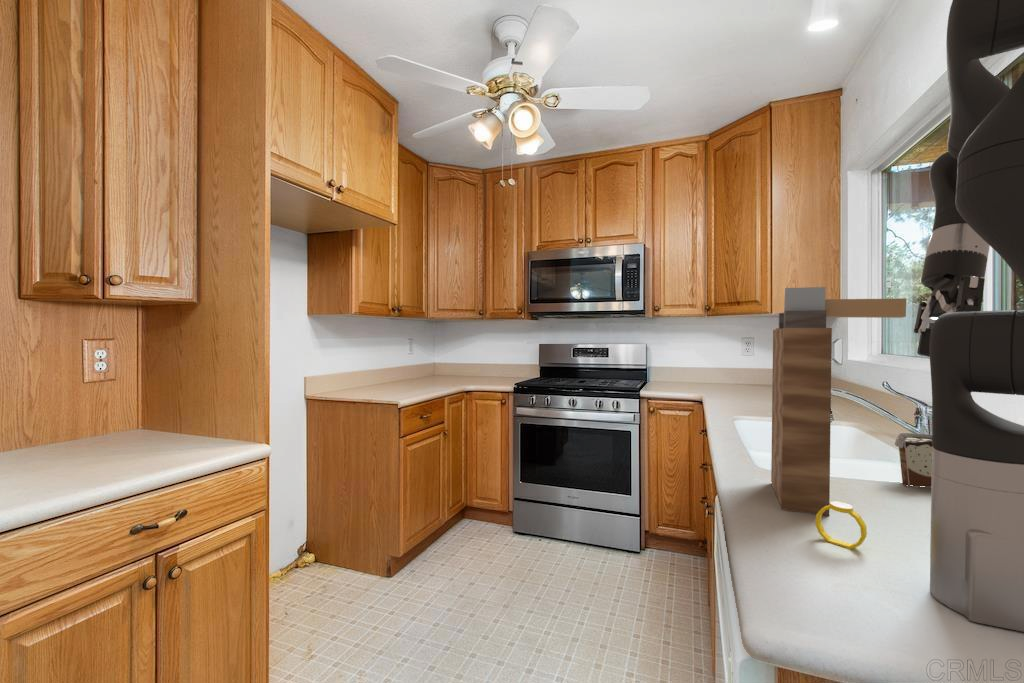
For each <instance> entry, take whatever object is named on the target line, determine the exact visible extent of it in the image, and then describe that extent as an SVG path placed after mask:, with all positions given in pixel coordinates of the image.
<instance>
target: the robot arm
mask: <svg viewBox="0 0 1024 683" xmlns="http://www.w3.org/2000/svg"><path fill="white" fill-rule="evenodd" d="M1023 48H1024V0H952V2H951V5H950V8H949V12H948V18H947V27H946V69H947V70H946V71H947V85H948V87H947V89H948V94H949V103H950V118H949V119H950V120H949V127H948V134H947V135H948V136H947V142H946V149H947V151H946V152H943V153H942V154H939V155H938V156H937V157H936V158H935V160H934V161H933V162H932V164H931V165H930V168H929V174H928V175H929V176H928V177H929V184H930V187H931V190H932V194H933V198H934V204H935V208H934V209H935V211H934V219H933V225H932V229H931V235H930V238H929V240H928V243H927V246H926V247H927V248H926V251H925V257H924V262H923V268H922V273H921V278H920V283H921V284H922V285H923V286H924V287H926V288H928V289H929V290H930V291H931V293H930V295H929V296H928V298H927V300H926V301H925V300H921V301H920V303H918V304H919V306H918V310H917V316H916V320H915V325H914V328H913V333H914V334H919V341H918V347H917V355H919V356H923V357H928V358H929V368H930V380H931V383H930V384H931V400H932V401H931V410H932V411H931V413H932V414H931V427H932V429H931V430H932V431H931V432H932V433H931V435H932V480H931V488H930V490H931V492H930V495H931V496H930V538H929V540H930V544H929V545H930V546H929V550H930V551H929V559H930V560H929V562H930V563H929V570H930V571H929V591H930V594H931V595H932V597H934V598H935V599H936V600H937V601H938V602H939V603H941V604H943V605H944V606H946V607H948V608H949V609H952V610H953V611H955V612H958V613H959V614H961V615H963V616H965V617H966V619H968V620H969V621H970V622H974V623H977V624H983V625H987V626H993V627H998V628H1003V629H1008V630H1013V631H1018V632H1024V425H1022V424H1019V423H1016V422H1013V421H1010V420H1008V419H1005V418H1002V417H1000V416H999V415H996V414H994V413H992V412H991V411H988V410H987V409H986V408H983V407H982V406H981V405H979V404H978V403H977V402H976V401H975V400H974V398H973V395H972V393H984V394H999V395H1000V394H1001V395H1011V396H1013V395H1014V396H1015V395H1016V396H1024V309H1018V310H1017V309H1014V310H1012V309H1011V310H1009V309H1008V310H1007V309H1006V310H985V311H984V310H982V305H983V296H984V290H985V282H986V280H985V279H986V278H985V277H986V276H985V275H986V271H987V266H988V257H989V252H990V247H991V248H992V249H993V250H994V251H995V252H996V253H997V254H998V255H999V256H1000V258H1002V259H1003V261H1004V262H1005V263H1006V264H1007V265H1008V267H1009V269H1010V270H1011V271H1012V272H1013V273H1014V275H1015V276H1016V278H1017V279H1018V280H1019V282H1020V283H1021V285H1022V288H1024V71H1023V72H1022V73H1021V74H1020V76H1019V77H1018V79H1017V80H1016V81H1015V83H1014V84H1013V86H1012V87H1011V88H1010V86H1008V85H1007V84H1006V83H1005V82H1003V80H1001V79H999V78H998V77H997V76H995V75H994V74H993V73H991V72H990V71H989V70H988V69H987V68H986V67H985V66H984V65H983V64H982V62H981V60H980V59H985V58H988V57H991V56H995V55H999V54H1004V53H1008V52H1012V51H1015V50H1019V49H1023ZM971 300H972V301H973V303H972V301H971Z"/></svg>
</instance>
